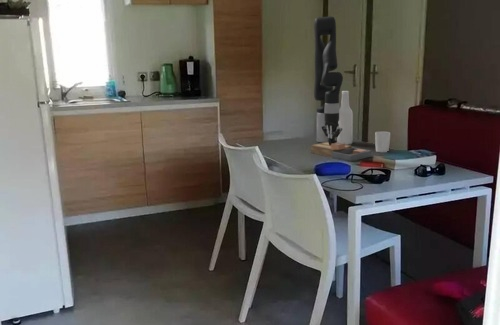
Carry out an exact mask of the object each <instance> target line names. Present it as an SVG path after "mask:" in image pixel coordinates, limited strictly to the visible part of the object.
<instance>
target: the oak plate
mask: <svg viewBox="0 0 500 325" xmlns="http://www.w3.org/2000/svg"><path fill="white" fill-rule="evenodd" d="M348 148H353V147H352V145H351V144H350V145H345V148H344V149H348ZM340 150H343V149H340ZM334 151H339V150H337V149H331V145H329V142H326V143H322V142H320V143H317V144H312V145H310V153H311V154H315V155H319V156H324V157H328V158H329V157H330V158H332V152H334Z"/></svg>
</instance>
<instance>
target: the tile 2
mask: <svg viewBox="0 0 500 325" xmlns="http://www.w3.org/2000/svg"><path fill="white" fill-rule="evenodd" d="M362 149H363V148H359V149H357V150H353V154H356V153H361V152H365V151H367V150H368V149H365V150H362Z"/></svg>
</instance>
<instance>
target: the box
mask: <svg viewBox="0 0 500 325" xmlns="http://www.w3.org/2000/svg"><path fill="white" fill-rule="evenodd" d="M357 149H360V148H357V147H352V148H348V149H343V150H339V151H334V152H332V157H331V158H332V159H334V160H335V159H336V160H341V161H345V162H346V161H347V162H354V161H358V160H362V159H366V158H371V157H372V150H371V149H370V150H368V149H364V148H361V149H362V150H367V151H365V152H361V153H356V154H353V150H357Z"/></svg>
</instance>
